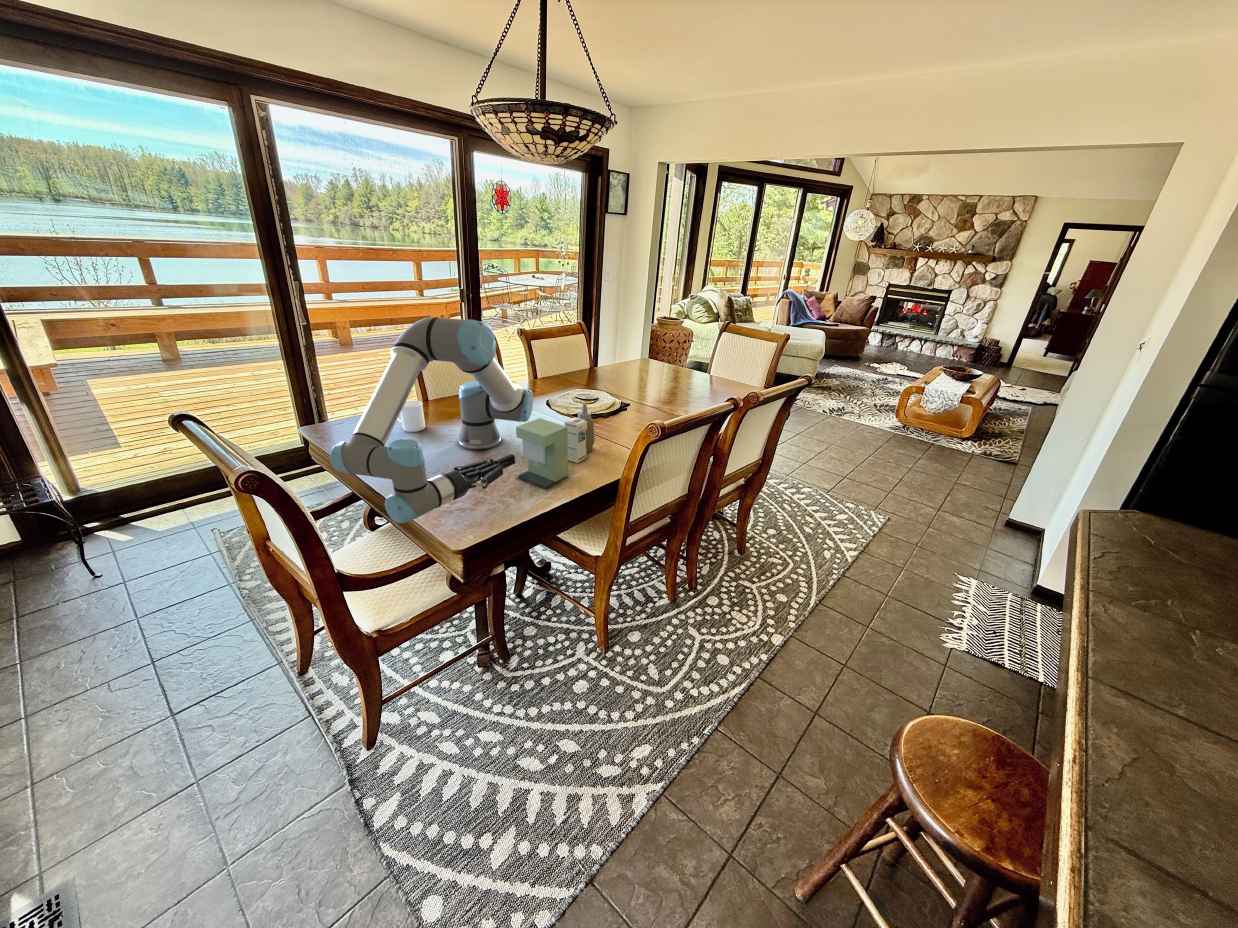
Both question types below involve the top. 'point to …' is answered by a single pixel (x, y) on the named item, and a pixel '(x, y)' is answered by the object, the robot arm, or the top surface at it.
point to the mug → (412, 416)
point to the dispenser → (546, 452)
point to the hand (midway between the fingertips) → (513, 458)
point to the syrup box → (577, 439)
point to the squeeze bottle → (588, 426)
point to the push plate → (533, 451)
